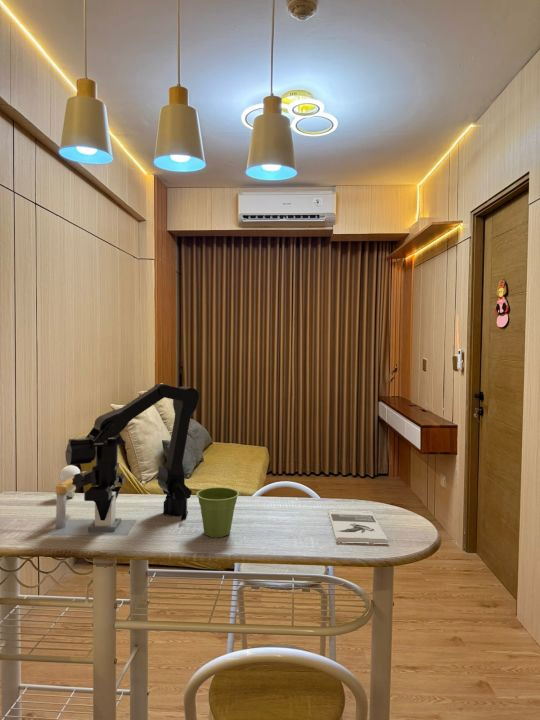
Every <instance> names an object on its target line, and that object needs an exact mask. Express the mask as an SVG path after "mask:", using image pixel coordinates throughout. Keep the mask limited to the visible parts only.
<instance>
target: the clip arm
mask: <svg viewBox="0 0 540 720" xmlns="http://www.w3.org/2000/svg"><path fill="white" fill-rule="evenodd" d="M87 471H88V470H87ZM87 471H85V470H84V471H81V472H82V473H84V472H87ZM73 478H74V477H72V478H70V479H68V480H66V481H64V482H60V483H57V484H55V494H56V495H57V494H65V493H67V492H68V491H70V490H71V489H73V488H75V487H76V486H75V485H73V484H72V482H73V480H72V479H73ZM75 489H76V488H75Z"/></svg>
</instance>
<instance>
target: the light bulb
mask: <svg viewBox="0 0 540 720" xmlns="http://www.w3.org/2000/svg"><path fill="white" fill-rule="evenodd" d="M80 472H81V469H80V468H79V467H78V466H76V465H66V466H65V467H63V468H62V469H61V471H60V473H59V480H60V483H62V482H64V481H66V480H68V479H70V478H72V477H74V475H76V474H79V473H80ZM75 491H76V487H75V488H73V489H71V490H70V491H68V492H67V493H66V499H67V498H68V499H72V498H73V497H74V496H75Z"/></svg>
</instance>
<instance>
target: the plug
mask: <svg viewBox="0 0 540 720" xmlns="http://www.w3.org/2000/svg"><path fill="white" fill-rule="evenodd" d="M112 495H114V498H113V500H112V503H111V505H110V508H109V511H108V513H107V516H106V519H105V520H100V516H99V512H98V509H97V506H96V503H95V502H94V520H95V526H113V525H114V523H115V518H116V511H117V508H116V507H117V506H116V503H117V502H116V501H117V499H116V492H112Z"/></svg>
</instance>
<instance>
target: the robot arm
mask: <svg viewBox="0 0 540 720" xmlns="http://www.w3.org/2000/svg"><path fill="white" fill-rule="evenodd" d="M164 398H166V399H169V400H172V408H173V411H174V418H173V419H174V420H173V426H172V430H171V437H170V442H169V443H170V444H169V448H168V452H167V453H168V454H167V459H166V462H165V463H164V465H163V466H161V465H159V466H158V471H157V472H158V473H157V476H156V478H155V479H156V480H157V485H158V487H159V488H160V489H162V491H163V492H162V493H163V494H165V495H166V496H165V499H164V501H163V510H162V511H163V516H164V515H165V516H170V517H180V520H186V519H187V516H188V513H189V511H188V499H190V498H191V496H192V493H193V491H192V490H191V489H190V488H189V486H187V485H186V483H185V482H186V481H185V480H186V479H185V477H186V475H185V474H186V473H185V469H184V464H183V462H184V456H185V451H186V444H187V439H188V435H189V434H188V433H189V430H190V429H189V428H190V423H191V417H192V416H193V415H194V413H195V411H196V410H197V407H198V406H199V405H198V404H199V401H200V393H199V391H198V389H196V388H194V387H190V386H179V387H175V386H171V385H168V384H165V383H161V382H160V383H156V384H154V386H153V387H151V388H150V389H148V390H147V391H145V392H143V393H141V395H139V396H137V397H136V398H134V399H132V400H131V401H129V402H128V403H127V404H125V405H123V406H122V407H120V408H117V409H114V410H111V411H108V412H106V413H104V414H102V415H99V416H98V417H96V419H95V420H94V423H93V427H92V429H91V430H90V432H89V433H88V434H87V435H86V436H85V438H69V439H68V444H67V446H66V449H65V452H64V453H65V454H64V455H65V462H66V464H67V465H66V466H69V465H73V466H76V465H83V464H84V465H85V464H91V463H92V462H93V461H95V465H94V466H92V467H91V469H90V470H87V472H84V473H82V472H83V471H80V473H79V474H76V475H74V478H73V479H72V480H73V482H72V484H73V485H75V486H76V488H75V490H78V489H81V488H82V487H86V486H88V485H90V488H88V489H87V490H86V491H85V492H84V493H83V494H84V497H83V500H84V501H85V502H94V504H95V503H96V506H97V509H98V512H99V516H100V520H105V519H106V516H107V513H108V511H109V508H110V505H111V503H112V500H113V498H114V495H112V492H116V500H117V498H118V496H119V494H120V492H121V490H122V486H123V485H124V484H125V483H126V476H125V475H124V474H123V473H119V472H118V468H119V467H120V462H118V456H119V455H118V452H119V450H118V449H119V447H118V445H119V446H120V445H125V444H126V441H125V440H124V439H123V438H122V437H121V435H119V434H121V432H122V431H124V430H125V429H126V427H127V426H128V425H129V423H130V422H131V421H132V420H133V419H135V418H136V417H137V416H139V415H141V414H142V413H144V412H145V411H147V410H148V409H150V408H151V407H153V406H154V405H155V404H157V403H158V402H160V401H161V400H163V399H164ZM118 484H120V486H118Z"/></svg>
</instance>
